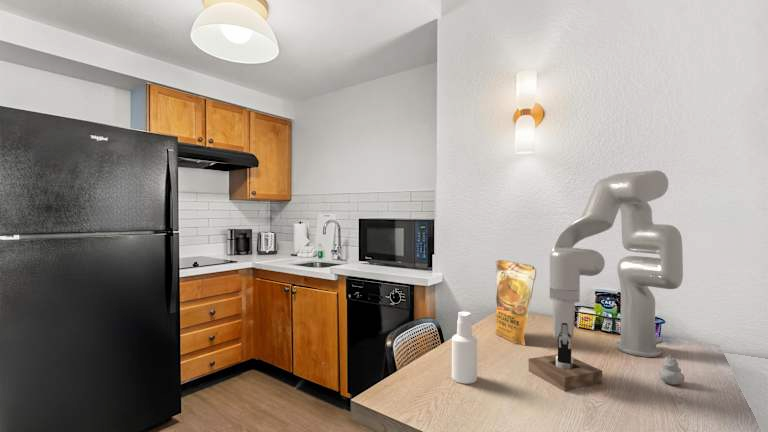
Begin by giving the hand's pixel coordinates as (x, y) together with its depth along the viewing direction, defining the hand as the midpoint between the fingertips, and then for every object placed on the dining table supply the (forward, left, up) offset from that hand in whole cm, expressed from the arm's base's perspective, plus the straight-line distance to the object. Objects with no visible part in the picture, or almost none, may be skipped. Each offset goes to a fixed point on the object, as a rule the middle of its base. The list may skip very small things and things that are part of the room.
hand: (564, 356), depth 100 cm
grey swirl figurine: (-25, +12, -6) cm, 28 cm away
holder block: (0, 0, -6) cm, 6 cm away
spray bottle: (+27, -8, -6) cm, 29 cm away
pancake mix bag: (-8, -32, -6) cm, 33 cm away
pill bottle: (0, 0, -6) cm, 6 cm away
